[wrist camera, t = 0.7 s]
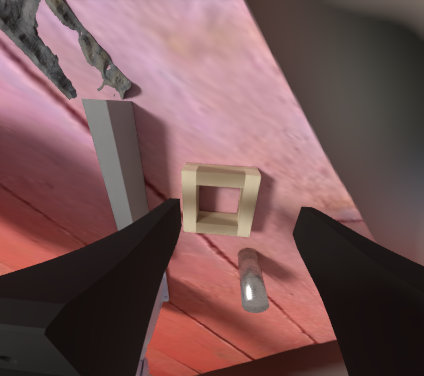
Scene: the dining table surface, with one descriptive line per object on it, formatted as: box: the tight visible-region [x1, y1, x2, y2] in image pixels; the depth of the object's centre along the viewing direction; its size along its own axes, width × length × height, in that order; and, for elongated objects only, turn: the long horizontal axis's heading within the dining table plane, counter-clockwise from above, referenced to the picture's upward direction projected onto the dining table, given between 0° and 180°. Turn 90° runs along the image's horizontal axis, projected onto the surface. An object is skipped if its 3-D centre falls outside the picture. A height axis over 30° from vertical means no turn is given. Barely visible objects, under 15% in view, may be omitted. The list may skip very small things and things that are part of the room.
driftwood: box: [0, 0, 131, 100], centre depth 13 cm, size 21×7×2 cm, turn 36°
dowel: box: [238, 248, 269, 313], centre depth 22 cm, size 3×3×7 cm
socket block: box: [181, 163, 261, 237], centre depth 19 cm, size 8×8×2 cm
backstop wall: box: [82, 99, 149, 231], centre depth 19 cm, size 20×2×4 cm, turn 177°
